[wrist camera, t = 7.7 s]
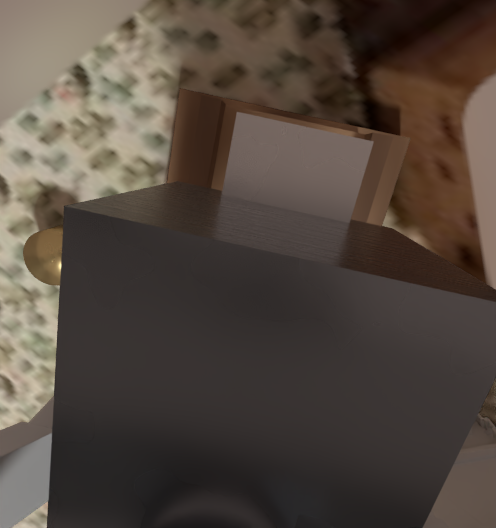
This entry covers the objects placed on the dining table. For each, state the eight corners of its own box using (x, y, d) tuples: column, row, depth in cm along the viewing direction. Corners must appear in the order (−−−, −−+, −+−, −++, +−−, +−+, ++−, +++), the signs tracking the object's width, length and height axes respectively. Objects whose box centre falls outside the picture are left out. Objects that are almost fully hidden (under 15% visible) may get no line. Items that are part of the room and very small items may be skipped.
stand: (153, 331, 32) (103, 400, 23) (187, 93, 26) (138, 58, 17) (326, 371, 32) (346, 456, 23) (400, 139, 26) (467, 129, 17)
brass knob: (46, 267, 31) (22, 278, 28) (48, 219, 30) (23, 225, 27) (94, 278, 31) (76, 290, 28) (98, 230, 30) (79, 237, 27)
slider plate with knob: (189, 105, 8) (0, -15, 3) (416, 154, 8) (732, 142, 3) (122, 559, 13) (0, 877, 7) (269, 593, 13) (263, 943, 7)
